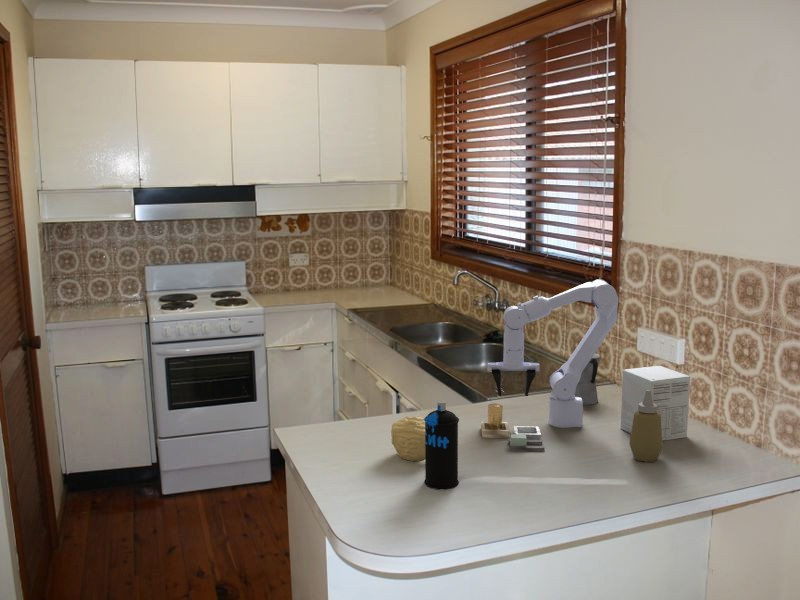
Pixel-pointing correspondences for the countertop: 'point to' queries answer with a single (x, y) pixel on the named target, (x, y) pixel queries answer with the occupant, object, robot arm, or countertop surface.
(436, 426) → the aerosol can
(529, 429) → the steel socket
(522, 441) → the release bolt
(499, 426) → the brass cylinder plug
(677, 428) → the supplement box
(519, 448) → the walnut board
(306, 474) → the countertop surface
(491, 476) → the countertop surface
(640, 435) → the squeeze bottle
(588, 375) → the coffeepot
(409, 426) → the sculpture
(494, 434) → the ash socket frame
